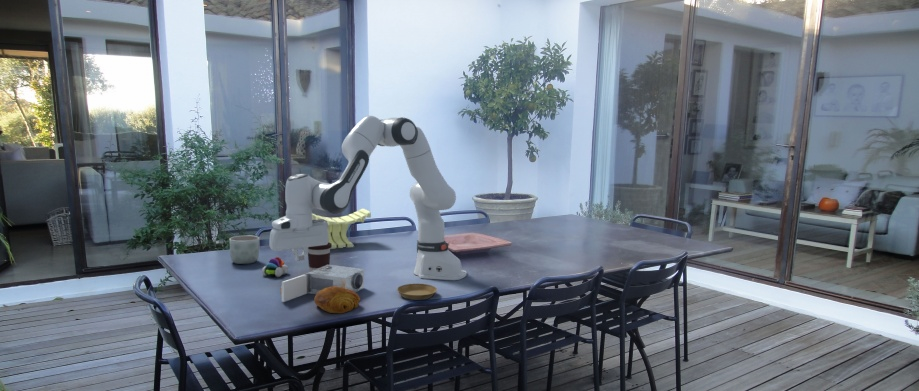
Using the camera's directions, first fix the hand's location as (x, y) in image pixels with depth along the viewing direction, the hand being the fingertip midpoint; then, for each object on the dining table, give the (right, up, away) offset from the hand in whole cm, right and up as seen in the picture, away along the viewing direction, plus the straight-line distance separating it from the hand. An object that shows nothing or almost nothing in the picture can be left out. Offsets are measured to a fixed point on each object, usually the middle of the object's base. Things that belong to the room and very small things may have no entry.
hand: (300, 260), depth 192 cm
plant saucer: (+40, -15, +12) cm, 44 cm away
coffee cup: (-2, -11, +34) cm, 36 cm away
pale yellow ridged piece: (-8, -3, +94) cm, 95 cm away
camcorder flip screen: (-3, -14, +4) cm, 15 cm away
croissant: (+14, -16, -4) cm, 22 cm away
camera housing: (+9, -13, +14) cm, 21 cm away
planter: (-40, -7, +53) cm, 67 cm away
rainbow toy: (-20, -10, +34) cm, 41 cm away
